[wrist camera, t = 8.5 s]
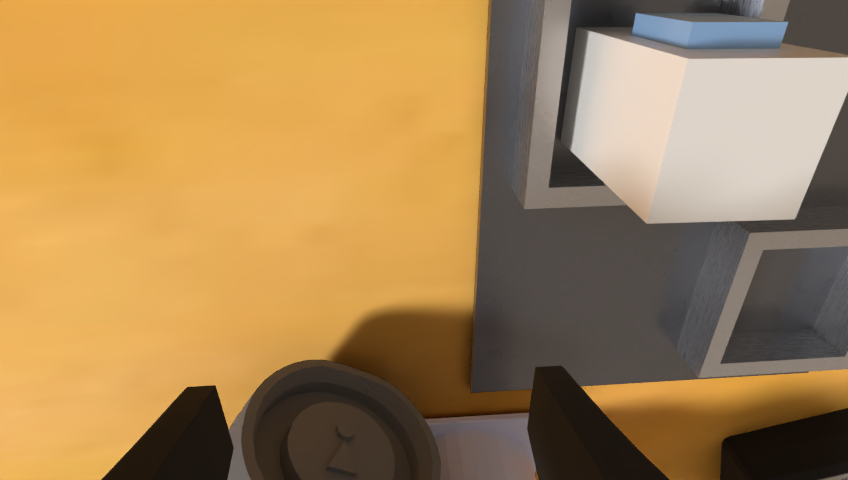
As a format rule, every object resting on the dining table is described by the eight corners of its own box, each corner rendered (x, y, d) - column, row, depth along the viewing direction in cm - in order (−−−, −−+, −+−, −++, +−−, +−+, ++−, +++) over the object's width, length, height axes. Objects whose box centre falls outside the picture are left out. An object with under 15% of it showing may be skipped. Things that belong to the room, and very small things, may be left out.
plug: (661, 139, 19) (794, 219, 13) (560, 140, 19) (646, 223, 12) (694, 7, 17) (874, 27, 10) (579, 7, 16) (695, 28, 10)
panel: (801, 365, 26) (839, 401, 24) (469, 385, 25) (477, 424, 23) (1017, -76, 16) (1113, -84, 14) (492, -74, 15) (510, -81, 13)
